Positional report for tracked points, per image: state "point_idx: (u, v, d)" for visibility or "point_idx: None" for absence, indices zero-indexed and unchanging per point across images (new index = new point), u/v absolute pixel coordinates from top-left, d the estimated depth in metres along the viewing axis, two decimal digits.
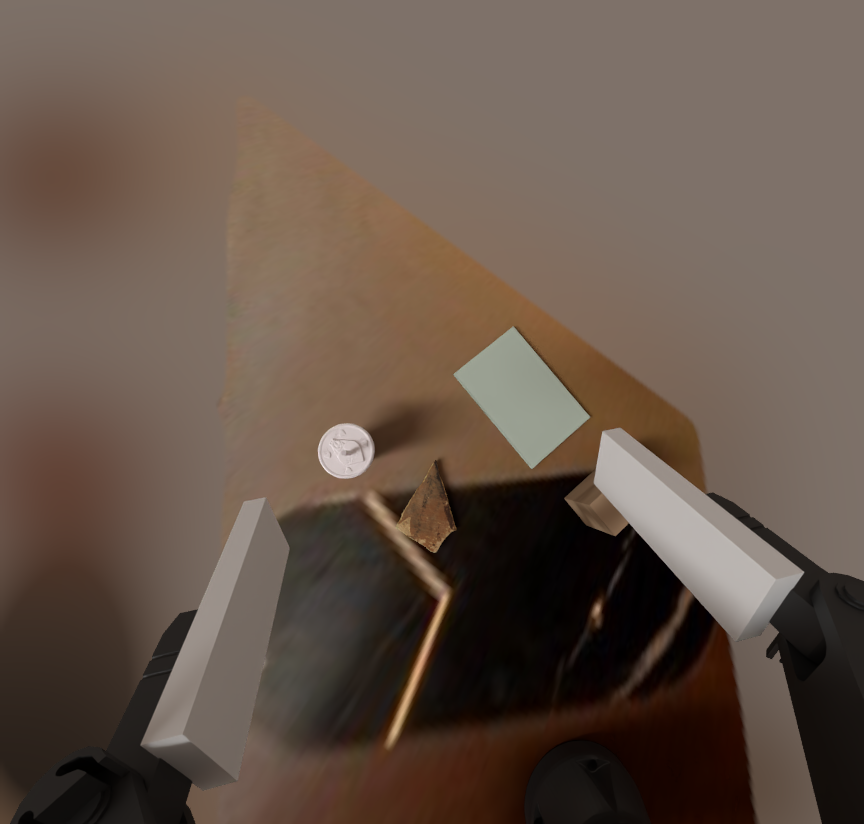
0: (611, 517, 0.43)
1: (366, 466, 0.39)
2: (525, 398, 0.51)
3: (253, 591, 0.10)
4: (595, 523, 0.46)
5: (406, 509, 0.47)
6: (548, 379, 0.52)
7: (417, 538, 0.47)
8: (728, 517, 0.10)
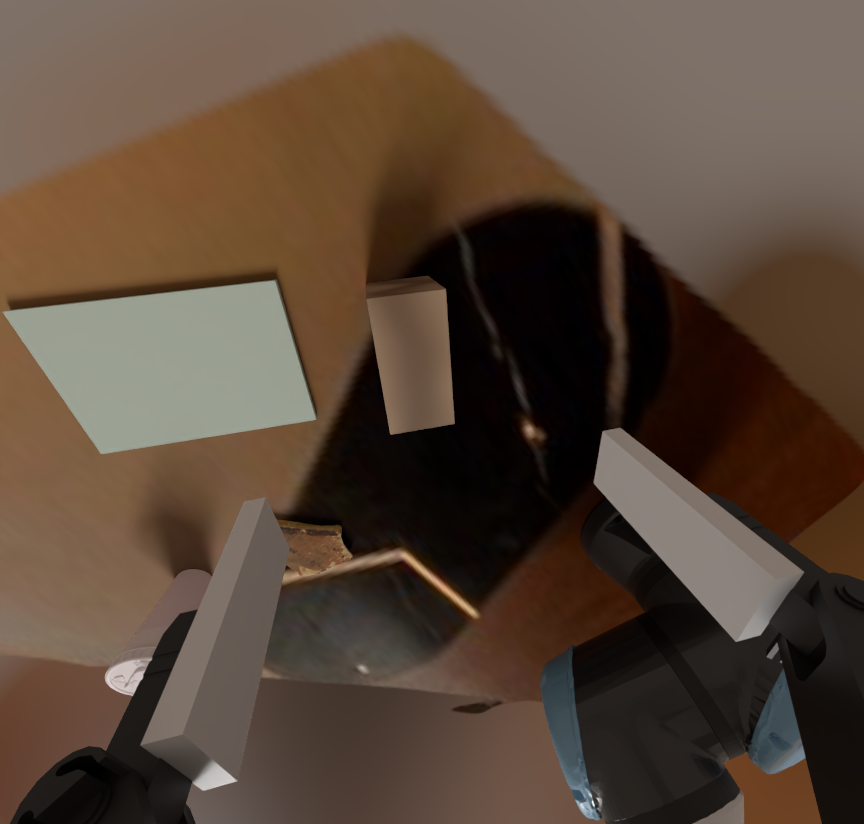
0: (427, 414, 0.26)
1: None
2: (189, 371, 0.27)
3: (253, 591, 0.10)
4: None
5: (289, 565, 0.39)
6: (162, 312, 0.25)
7: (326, 567, 0.39)
8: (728, 517, 0.10)
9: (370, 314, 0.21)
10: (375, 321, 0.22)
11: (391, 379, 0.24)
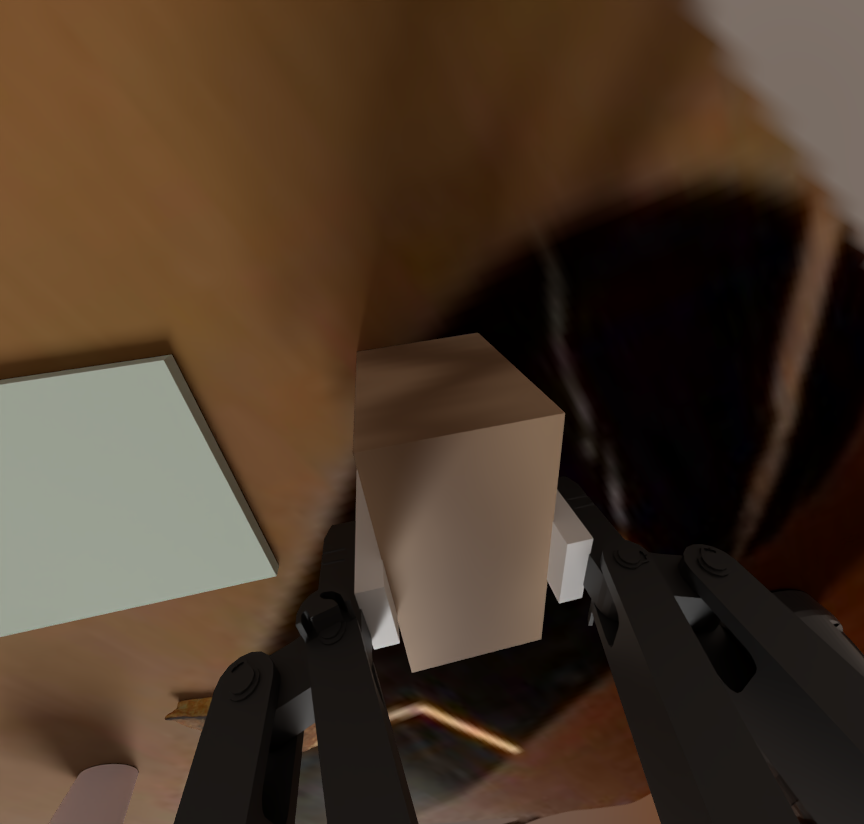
0: (490, 634, 0.12)
1: None
2: (16, 529, 0.14)
3: None
4: None
5: None
6: None
7: (309, 746, 0.26)
8: (559, 495, 0.11)
9: (364, 485, 0.08)
10: (377, 498, 0.08)
11: (417, 595, 0.10)
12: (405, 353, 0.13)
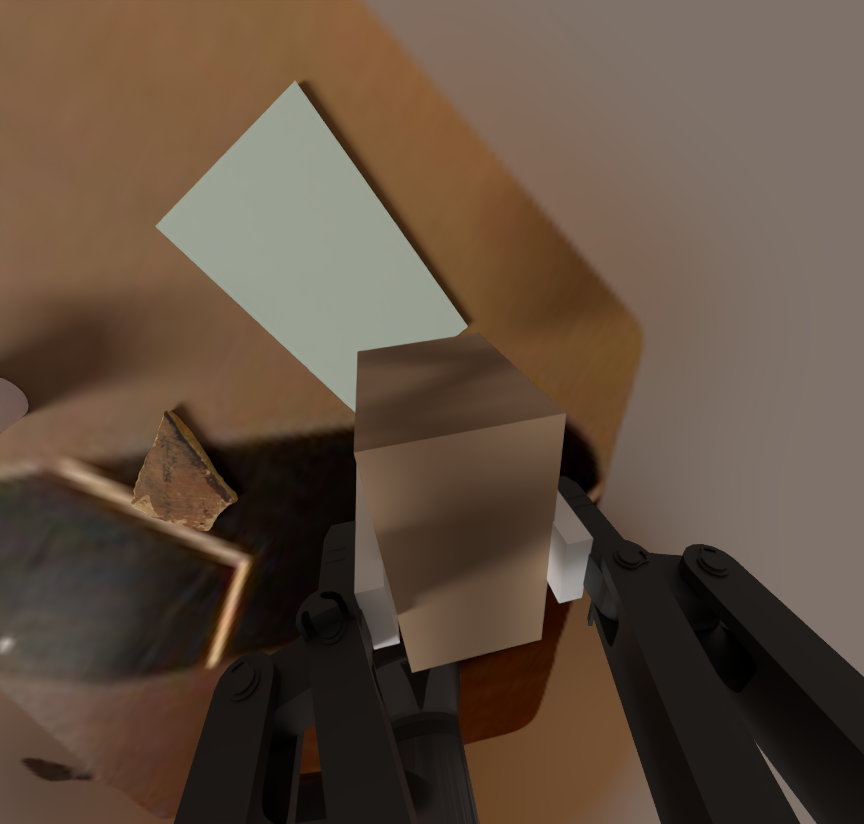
0: (490, 635, 0.12)
1: None
2: (339, 289, 0.25)
3: None
4: None
5: (137, 485, 0.29)
6: (389, 247, 0.24)
7: (171, 519, 0.30)
8: (558, 495, 0.11)
9: (365, 484, 0.08)
10: (378, 497, 0.08)
11: (417, 595, 0.10)
12: (406, 353, 0.13)
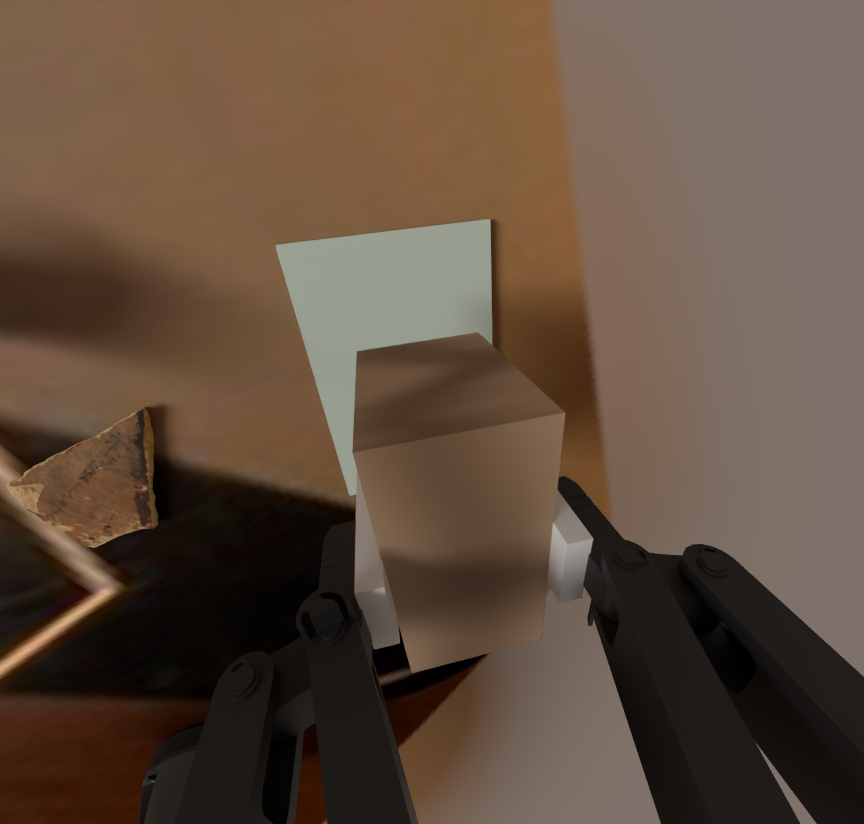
0: (490, 635, 0.12)
1: None
2: None
3: None
4: None
5: (37, 469, 0.21)
6: None
7: (53, 521, 0.23)
8: (559, 495, 0.11)
9: (364, 485, 0.08)
10: (377, 498, 0.08)
11: (417, 595, 0.10)
12: (405, 353, 0.13)
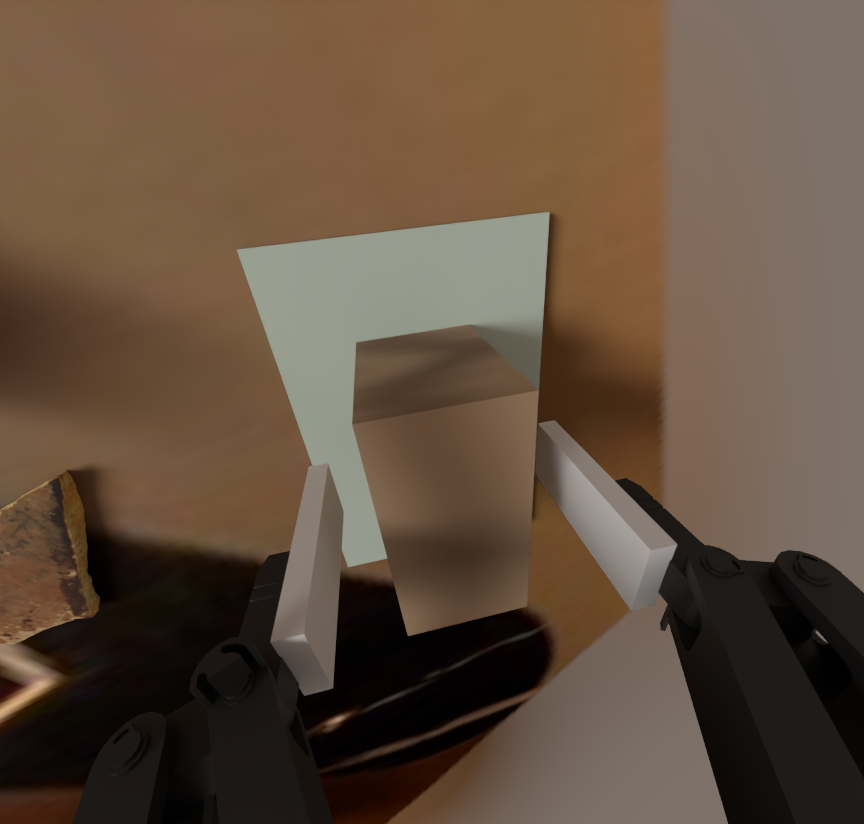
0: (479, 600, 0.13)
1: None
2: None
3: (328, 539, 0.11)
4: None
5: None
6: None
7: None
8: (628, 498, 0.10)
9: (362, 454, 0.09)
10: (374, 466, 0.09)
11: (411, 559, 0.11)
12: (400, 343, 0.14)
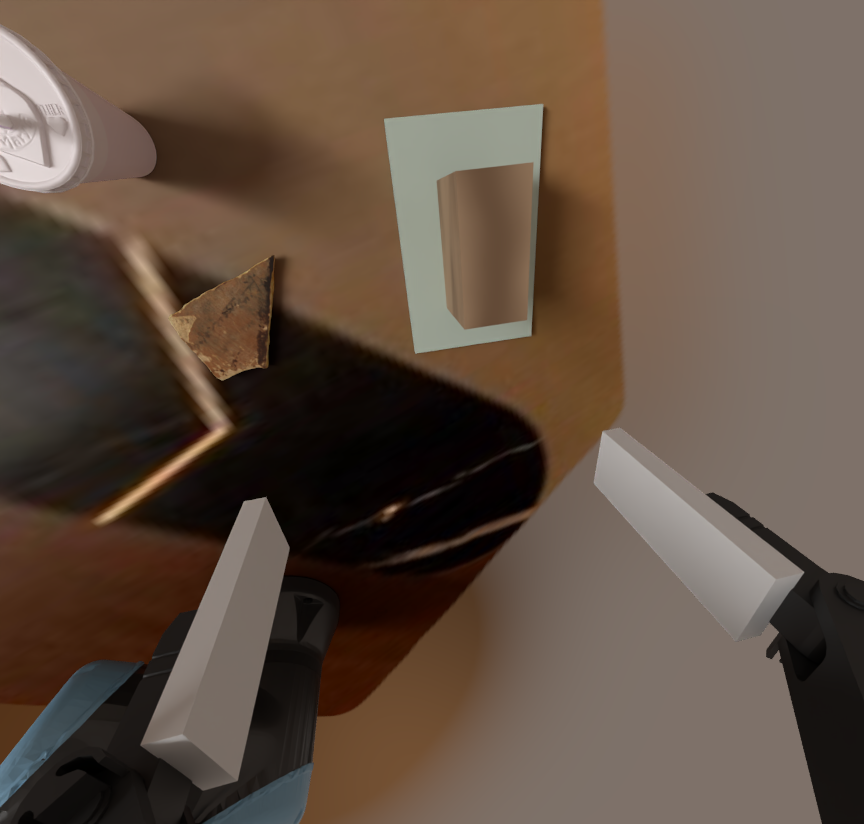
0: (502, 308, 0.26)
1: (53, 183, 0.17)
2: None
3: (253, 591, 0.10)
4: None
5: (193, 302, 0.28)
6: None
7: (198, 351, 0.30)
8: (728, 517, 0.10)
9: (457, 189, 0.21)
10: (461, 197, 0.22)
11: (471, 266, 0.24)
12: None
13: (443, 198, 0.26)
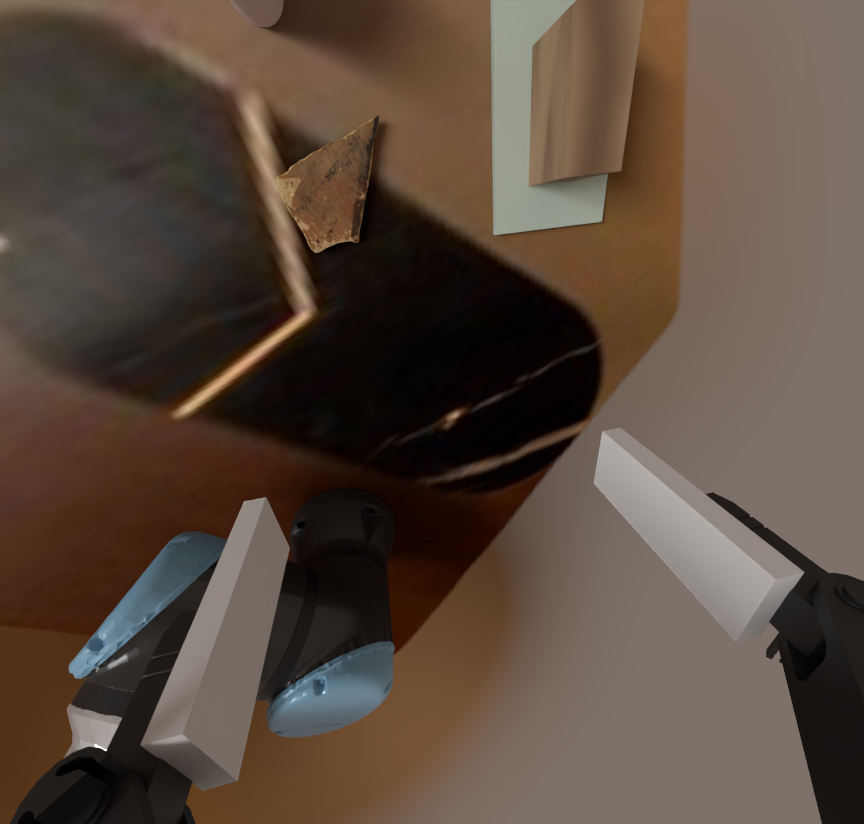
0: (600, 155, 0.28)
1: None
2: None
3: (253, 591, 0.10)
4: (585, 177, 0.31)
5: (299, 163, 0.30)
6: None
7: (298, 217, 0.31)
8: (728, 517, 0.10)
9: (577, 18, 0.23)
10: (579, 28, 0.24)
11: (579, 105, 0.26)
12: None
13: (544, 54, 0.28)
